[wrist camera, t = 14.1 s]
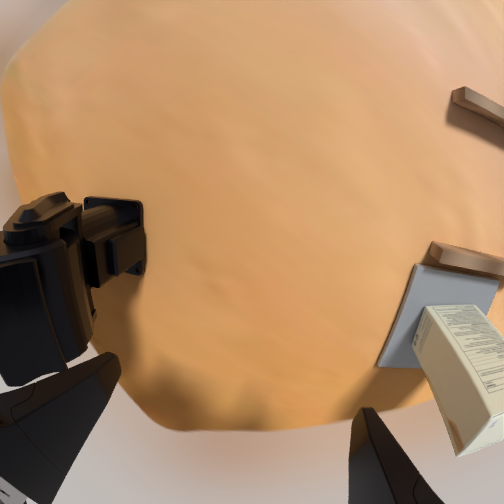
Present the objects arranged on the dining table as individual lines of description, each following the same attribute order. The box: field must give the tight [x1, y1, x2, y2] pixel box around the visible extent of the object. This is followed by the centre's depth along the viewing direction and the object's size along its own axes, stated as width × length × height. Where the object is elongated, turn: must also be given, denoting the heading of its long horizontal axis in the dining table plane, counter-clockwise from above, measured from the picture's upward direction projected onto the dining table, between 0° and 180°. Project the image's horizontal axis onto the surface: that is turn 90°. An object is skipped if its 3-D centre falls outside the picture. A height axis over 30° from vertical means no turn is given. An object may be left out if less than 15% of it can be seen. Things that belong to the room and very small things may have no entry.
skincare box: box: [412, 305, 504, 457], centre depth 13 cm, size 6×4×12 cm
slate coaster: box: [377, 264, 500, 368], centre depth 19 cm, size 10×10×1 cm
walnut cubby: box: [429, 86, 504, 276], centre depth 14 cm, size 11×13×2 cm
